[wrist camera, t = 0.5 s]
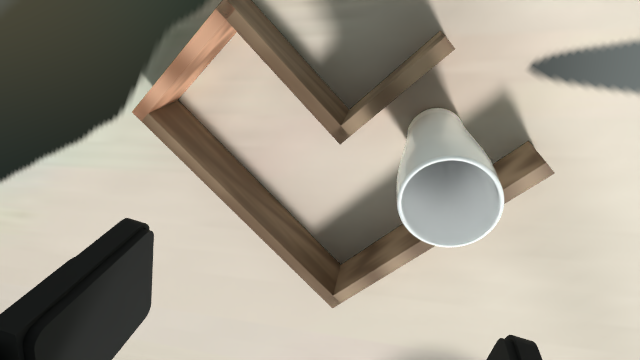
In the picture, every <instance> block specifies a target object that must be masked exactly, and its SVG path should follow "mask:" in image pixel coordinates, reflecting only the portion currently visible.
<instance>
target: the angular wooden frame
mask: <svg viewBox="0 0 640 360" xmlns="http://www.w3.org/2000/svg"><path fill="white" fill-rule="evenodd" d="M236 32H238V33H239V35H240V36H241V37H242V38H243V39H244V40H245V41H246V42H247V43H248V44H249V46H250V47H251V48H252V49H253V50H254V51H255V52H256V53H257V54H258V55H259V56H260V58H261V59H262V60H263V61H264V62H265V63H266V64H267V65H268V66H269V67H270V68H271V70H272V71H273V72H274V73H275V74H276V75H277V76H278V77H279V78H280V79H281V80H282V82H283V83H284V84H285V85H286V86H287V87H288V88H289V89H290V90H291V91H292V92H293V94H294V95H295V96H296V97H297V98H298V99H299V100H300V101H301V102H302V103H303V104H304V106H305V107H306V108H307V109H308V110H309V111H310V112H311V113H312V114H313V115H314V116H315V118H316V119H317V120H318V121H319V122H320V123H321V124H322V125H323V126H324V127H325V128H326V130H327V131H328V132H329V133H330V134H331V135H332V136H333V137H334V138H335V139H336V140H337V142H338V143H339V144H341V143H342V142H344V141H345V140H346V139H347V138H348V137H350V136H351V135H352V134H353V133H355V132H356V131H357V130H358V129H359V128H361V127H362V126H363V125H364V124H365V123H367V122H368V121H369V120H370V119H371V118H373V117H374V116H375V115H376V114H377V113H379V112H380V111H381V110H382V109H383V108H385V107H386V106H387V105H388V104H389V103H391V102H392V101H393V100H394V99H395V98H397V97H398V96H399V95H400V94H402V93H403V92H404V91H405V90H406V89H408V88H409V87H410V86H411V85H412V84H414V83H415V82H416V81H417V80H418V79H420V78H421V77H422V76H423V75H424V74H426V73H427V72H428V71H429V70H430V69H432V68H433V67H434V66H435V65H436V64H438V63H439V62H440V61H441V60H443V59H444V58H445V57H446V56H447V55H449V54H450V53H451V52H452V51H453V50H455V48H454V47H453V45H452V44H451V43H450V42H449V40H448V39H447V38H446V37H445V35H444V34H443V33H442V32H441V31H440V32H438V33H437V34H436V35H435V36H434V37H433V38H431V39H430V40H429V41H428V42H427V43H426V44H425V45H423V46H422V47H421V48H420V49H419V50H418V51H417V52H415V53H414V54H413V55H412V56H411V57H410V58H408V59H407V60H406V61H405V62H404V63H403V64H402V65H400V66H399V67H398V68H397V69H396V70H395V71H393V72H392V73H391V74H390V75H389V76H388V77H387V78H385V79H384V80H383V81H382V82H381V83H380V84H378V85H377V86H376V87H375V88H374V89H373V90H372V91H370V92H369V93H368V94H367V95H366V96H365V97H363V98H362V99H361V100H360V101H359V102H358V103H357V104H355V105H354V106H353V107H352V108H351V109H350V110H349V109H348V108H347V107H346V106H345V105H344V104H343V102H342V101H341V100H340V99H339V98H338V97H337V96H336V95H335V93H334V92H333V91H332V90H331V89H330V88H329V87H328V86H327V84H326V83H325V82H324V81H323V80H322V79H321V78H320V77H319V75H318V74H317V73H316V72H315V71H314V70H313V69H312V68H311V67H310V65H309V64H308V63H307V62H306V61H305V60H304V59H303V58H302V56H301V55H300V54H299V53H298V52H297V51H296V50H295V49H294V47H293V46H292V45H291V44H290V43H289V42H288V41H287V40H286V38H285V37H284V36H283V35H282V34H281V33H280V32H279V31H278V30H277V28H276V27H275V26H274V25H273V24H272V23H271V22H270V21H269V19H268V18H267V17H266V16H265V15H264V14H263V13H262V12H261V10H260V9H259V8H258V7H257V6H256V5H255V4H254V3H253V1H252V0H222V1H221V3H220V4H219V5H218V6H217V8H216V9H215V10H214V11H213V13H212V14H211V15H210V16H209V17H208V19H207V20H206V21H205V22H204V24H203V25H202V26H201V27H200V29H199V30H198V31H197V32H196V34H195V35H194V36H193V37H192V38H191V40H190V41H189V42H188V43H187V45H186V46H185V47H184V48H183V50H182V51H181V52H180V53H179V54H178V56H177V57H176V58H175V59H174V61H173V62H172V63H171V64H170V66H169V67H168V68H167V69H166V71H165V72H164V73H163V74H162V75H161V77H160V78H159V79H158V80H157V82H156V83H155V84H154V85H153V87H152V88H151V89H150V90H149V92H148V93H147V94H146V95H145V96H144V98H143V99H142V100H141V101H140V103H139V104H138V105H137V106H136V108H135V109H134V110H133V111H132V113H133V114H134V115H136V116H137V117H138V118H139V119H140V120H141V121H142V122H143V123H144V124H145V125H146V126H147V127H148V128H149V129H150V130H151V131H152V132H153V133H154V134H155V135H156V136H157V137H158V138H159V139H160V140H161V141H162V142H163V143H164V144H165V145H166V146H167V147H168V148H169V149H170V150H171V151H172V152H173V153H174V154H175V155H176V156H177V157H178V158H179V159H180V160H182V161H183V162H184V163H185V164H186V165H187V166H188V167H189V168H190V169H191V170H192V171H193V172H194V173H195V174H196V175H197V176H198V177H199V178H200V179H201V180H202V181H203V182H204V183H205V184H206V185H207V186H208V187H209V188H210V189H211V190H212V191H213V192H214V193H215V194H216V195H217V196H218V197H219V198H220V199H221V200H222V201H223V202H224V203H225V204H226V205H227V206H229V207H230V208H231V209H232V210H233V211H234V212H235V213H236V214H237V215H238V216H239V217H240V218H241V219H242V220H243V221H244V222H245V223H246V224H247V225H248V226H249V227H250V228H251V229H252V230H253V231H254V232H255V233H256V234H257V235H258V236H259V237H260V238H261V239H262V240H263V241H264V242H265V243H266V244H267V245H268V246H269V247H270V248H271V249H272V250H273V251H275V252H276V253H277V254H278V255H279V256H280V257H281V258H282V259H283V260H284V261H285V262H286V263H287V264H288V265H289V266H290V267H291V268H292V269H293V270H294V271H295V272H296V273H297V274H298V275H299V276H300V277H301V278H302V279H303V280H304V281H305V282H306V283H307V284H308V285H309V286H310V287H311V288H312V289H313V290H314V291H315V292H316V293H317V294H318V295H319V296H321V297H322V298H323V299H324V300H325V301H326V302H327V303H328V304H329V305H330V306H331V307H332V308H334V307H335V306H337V305H339V304H340V303H342V302H344V301H345V300H347V299H348V298H350V297H352V296H353V295H355V294H357V293H358V292H360V291H362V290H363V289H365V288H367V287H368V286H370V285H372V284H373V283H375V282H376V281H378V280H380V279H381V278H383V277H385V276H386V275H388V274H390V273H391V272H393V271H395V270H396V269H398V268H399V267H401V266H403V265H404V264H406V263H408V262H409V261H411V260H413V259H414V258H416V257H418V256H419V255H421V254H423V253H424V252H426V251H427V250H429V249H431V248H432V247H434V246H435V245H431V244H428V243H426V242H423V241H422V240H420V239H418V238H417V237H415V236H414V235H413V234H411V233H410V232H409V231H408V229H407V228H406V227H405V226H404V224H402V225H400V226H399V227H397V228H396V229H394V230H393V231H391V232H390V233H388V234H387V235H385V236H384V237H382V238H381V239H379V240H378V241H376V242H375V243H373V244H372V245H370V246H369V247H367V248H366V249H364V250H363V251H361V252H360V253H358V254H356V255H355V256H353V257H352V258H350V259H349V260H347V261H346V262H344V263H343V264H341V265H340V264H339V263H338V262H337V261H336V260H335V259H334V258H333V257H332V256H331V255H330V254H329V253H328V252H327V251H326V250H325V249H324V247H323V246H322V245H321V244H320V243H319V242H318V241H317V240H316V239H315V238H314V237H313V236H312V235H311V234H310V233H309V232H308V231H307V230H306V229H305V228H304V227H303V226H302V225H301V224H300V223H299V222H298V221H297V220H296V219H295V218H294V217H293V216H292V215H291V214H290V213H289V212H288V211H287V210H286V209H285V208H284V207H283V206H282V205H281V204H280V203H279V202H278V201H277V200H276V199H275V198H274V197H273V196H272V195H271V194H270V193H269V192H268V191H267V190H266V189H265V188H264V187H263V186H262V185H261V184H260V183H259V182H258V181H257V180H256V179H255V178H254V177H253V176H252V175H251V174H250V173H249V172H248V171H247V170H246V169H245V168H244V167H243V165H242V164H241V163H240V162H239V161H238V160H237V159H236V158H235V157H234V156H233V155H232V154H231V153H230V152H229V151H228V150H227V149H226V148H225V147H224V146H223V145H222V144H221V143H220V142H219V141H218V140H217V139H216V138H215V137H214V136H213V135H212V134H211V133H210V132H209V131H208V130H207V129H206V128H205V127H204V126H203V125H202V124H201V123H200V122H199V121H198V120H197V119H196V118H195V117H194V116H193V115H192V114H191V113H190V112H189V111H188V110H187V109H186V108H185V107H184V106H183V105H182V104H181V103H180V102H179V101H178V99H179V98H180V97H181V95H182V94H183V93H184V92H185V91H186V90H187V89H188V87H189V86H190V85H191V84H192V83H193V82H194V80H195V79H196V78H197V77H198V76H199V75H200V74H201V72H202V71H203V70H204V69H205V68H206V67H207V65H208V64H209V63H210V62H211V61H212V60H213V59H214V57H215V56H216V55H217V54H218V53H219V52H220V50H221V49H222V48H223V47H224V46H225V45H226V44H227V42H228V41H229V40H230V39H231V38H232V37H233V35H234V34H235V33H236ZM493 166H494V168H495V170H496V172H497V175H498V177H499V180H500V183H501V186H502V189H503V193H504V204H505V203H507V202H508V201H510V200H511V199H513V198H515V197H516V196H518V195H520V194H521V193H523V192H525V191H526V190H528V189H530V188H531V187H533V186H534V185H536V184H538V183H539V182H541V181H543V180H544V179H546V178H548V177H549V176H551V175H553V174H554V172H553V170H552V169H551V168H550V167H549V165H548V164H547V163H546V162H545V160H544V159H543V158H542V157H541V156H540V154H539V153H538V152H537V151H536V150H535V148H534V147H533V146H532V145H531V143H530V142H529V141H527V142H526V143H524V144H523V145H521V146H520V147H518V148H517V149H515V150H514V151H512V152H511V153H509V154H508V155H506V156H505V157H503V158H502V159H500V160H499V161H497V162H496V163H494V164H493Z"/></svg>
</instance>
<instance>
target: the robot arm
mask: <svg viewBox="0 0 640 360" xmlns="http://www.w3.org/2000/svg"><path fill="white" fill-rule="evenodd" d="M153 242H154V233H153V232H152V231H150V230H149V226H148V225H147V224H146V223H142V222H139V221H136V220H132V219H129V218H125V219H123V220H122V221H120V222H119V223H118V224H116V225H115V226H114V227H113V228H111V229H110V230H109V231H108V232H106V233H105V234H104V235H103V236H101V237H100V238H99V239H98V240H96V241H95V242H94V243H92V244H91V245H90V246H89V247H87V248H86V249H85V250H84V251H82V252H81V253H80V254H79V255H77V256H76V257H74V258H72V259H70V260H69V261H67V262H66V263H65V264H64V265H62V266H61V267H60V268H59V269H57V270H56V271H55V272H53V273H52V274H51V275H50V276H48V277H47V278H46V279H45V280H43V281H42V282H41V283H39V284H38V285H37V286H36V287H34V288H33V289H32V290H31V291H29V292H28V293H27V294H25V295H24V296H23V297H22V298H20V299H19V300H18V301H17V302H15V303H14V304H13V305H11V306H10V307H9V308H8V309H6V310H5V311H4V312H3V313H1V314H0V360H112V359H113V358H114V356H115V355H116V354H117V353H118V351H119V350H120V349H121V348H122V346H123V345H124V344H125V343H126V341H127V340H128V339H129V338H130V336H131V335H132V334H133V333H134V331H135V330H136V329H137V328H138V327H139V325H140V324H141V323H142V322H143V320H144V319H145V318H146V316H147V314H148V313H149V310H150V307H151V292H152V267H153ZM487 360H542V358H541V355H540V352H539V350H538V347H537V345H536V343H534V342H533V341H530V340H526V339H523V338H520V337H517V336H513V335H508V336H507V337H506V338H505V339H503V338H500V339H499V340H498V341H497V342H496V344H495V346H494V348H493V349H492V351H491V353H490V354H489V356H488V358H487Z"/></svg>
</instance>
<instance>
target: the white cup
mask: <svg viewBox="0 0 640 360" xmlns="http://www.w3.org/2000/svg"><path fill="white" fill-rule="evenodd" d="M396 193H397V209H398V213H399V216H400V219H401V221H402V223H403V224H404V226H405V227H406V228H407V229H408V231H409V232H410V233H411V234H413V235H414V236H415V237H417V238H418V239H420V240H422V241H423V242H426V243H428V244H431V245H435V246H440V247H459V246H464V245H468V244H471V243H473V242H476V241H477V240H479V239H481V238H483V237H484V236H485V235H487V234H488V233H489V232H490V231H491V230H492V229H493V228H494V227H495V225H496V224H497V223H498V221H499V219H500V217H501V215H502V212H503V208H504V193H503V189H502V186H501V183H500V180H499V177H498V175H497V172H496V170H495V168H494V166H493V164H492V162H491V160H490V159H489V157H488V155H487V154H486V152H485V151H484V150H483V148H482V147H481V146H480V145H479V144H478V142H477V141H476V140H475V139H474V138H473V136H472V135H471V134H470V133H469V132H468V130H467V129H466V128H465V127H464V125H463V123H462V121H461V120H460V118H459V117H458V116H457V115H456V114H455V113H453V112H451V111H449V110H447V109H443V108H432V109H428V110H425V111H423V112H421V113H420V114H418V115H417V116H416V117H415V118H414V119H413V120H412V122H411V123H410V125H409V128H408V131H407V140H406V144H405V147H404V151H403V154H402V158H401V161H400V165H399V169H398V175H397V186H396Z"/></svg>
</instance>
